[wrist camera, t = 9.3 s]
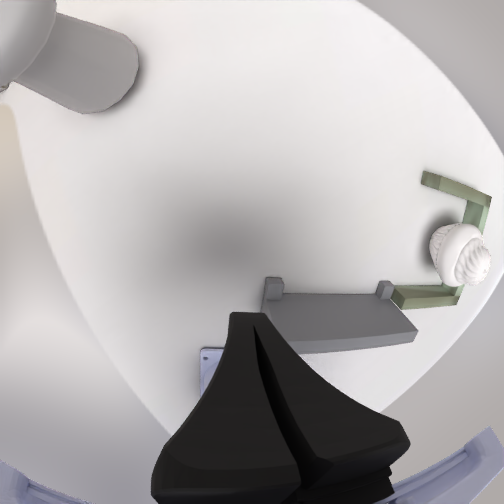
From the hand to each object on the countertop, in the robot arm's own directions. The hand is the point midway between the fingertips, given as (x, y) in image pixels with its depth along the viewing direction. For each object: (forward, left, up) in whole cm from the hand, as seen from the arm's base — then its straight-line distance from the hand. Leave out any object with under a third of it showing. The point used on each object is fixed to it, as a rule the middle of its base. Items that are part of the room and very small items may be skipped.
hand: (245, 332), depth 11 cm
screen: (-5, -9, -10) cm, 15 cm away
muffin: (+1, -20, -11) cm, 23 cm away
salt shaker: (+11, +10, -11) cm, 19 cm away
